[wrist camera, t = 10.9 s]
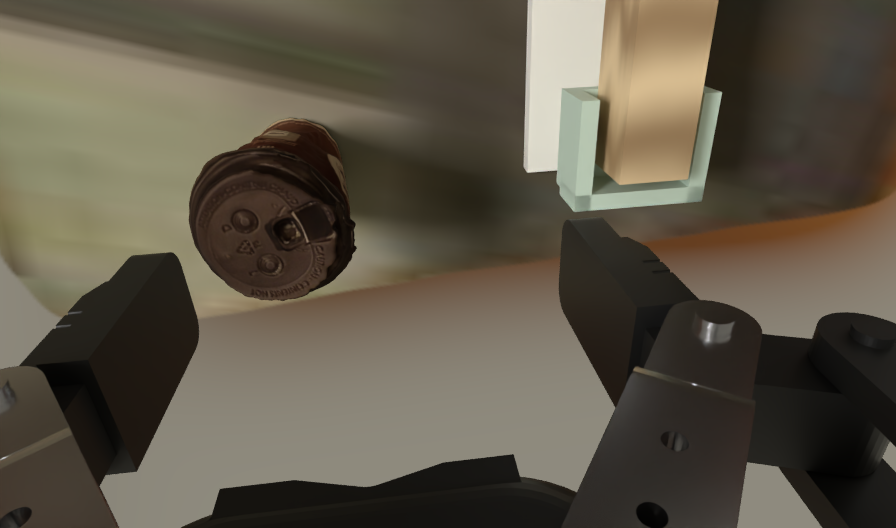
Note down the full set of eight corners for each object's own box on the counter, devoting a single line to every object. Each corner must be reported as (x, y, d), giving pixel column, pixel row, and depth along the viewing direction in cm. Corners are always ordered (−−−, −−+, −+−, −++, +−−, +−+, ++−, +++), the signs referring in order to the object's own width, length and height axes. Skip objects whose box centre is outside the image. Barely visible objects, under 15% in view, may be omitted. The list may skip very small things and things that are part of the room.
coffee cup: (377, 126, 38) (377, 192, 27) (346, 231, 42) (334, 329, 30) (248, 85, 36) (188, 137, 24) (226, 199, 39) (164, 292, 28)
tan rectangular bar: (620, -178, 27) (662, -203, 23) (698, -180, 27) (753, -206, 23) (592, 160, 35) (619, 184, 31) (653, 156, 35) (687, 179, 31)
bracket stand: (533, -195, 31) (585, -251, 23) (703, -199, 32) (809, -254, 24) (523, 167, 41) (557, 213, 33) (653, 157, 41) (717, 200, 34)
